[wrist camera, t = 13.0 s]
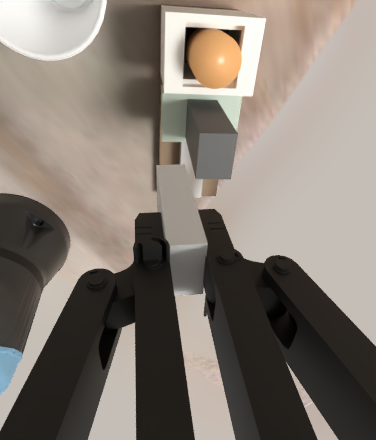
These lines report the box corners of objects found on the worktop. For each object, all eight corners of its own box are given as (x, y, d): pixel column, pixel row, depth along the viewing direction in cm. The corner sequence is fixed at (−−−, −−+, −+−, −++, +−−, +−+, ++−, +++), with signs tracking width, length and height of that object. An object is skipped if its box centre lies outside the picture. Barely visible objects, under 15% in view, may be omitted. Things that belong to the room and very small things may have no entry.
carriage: (160, 127, 37) (165, 184, 27) (160, 82, 34) (167, 125, 24) (227, 128, 38) (257, 184, 28) (233, 85, 35) (270, 128, 25)
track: (158, 190, 45) (159, 204, 43) (160, 4, 32) (162, 6, 30) (214, 190, 46) (218, 203, 44) (237, 9, 33) (245, 12, 31)
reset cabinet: (160, 71, 35) (163, 93, 28) (161, 5, 31) (165, 11, 24) (232, 74, 36) (252, 96, 29) (240, 10, 32) (265, 18, 25)
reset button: (184, 73, 30) (189, 87, 26) (186, 24, 28) (193, 31, 24) (225, 75, 30) (237, 89, 26) (231, 27, 28) (245, 34, 24)
